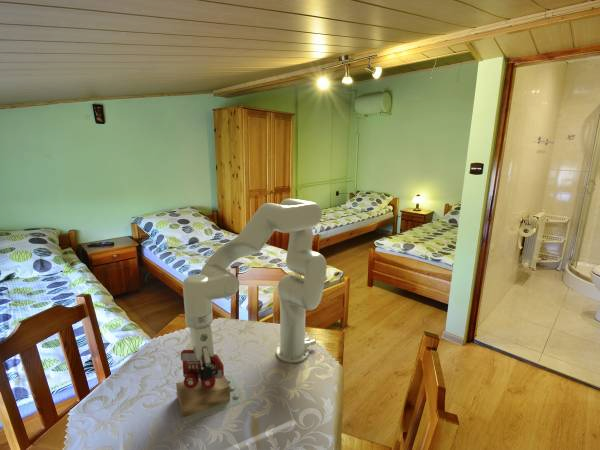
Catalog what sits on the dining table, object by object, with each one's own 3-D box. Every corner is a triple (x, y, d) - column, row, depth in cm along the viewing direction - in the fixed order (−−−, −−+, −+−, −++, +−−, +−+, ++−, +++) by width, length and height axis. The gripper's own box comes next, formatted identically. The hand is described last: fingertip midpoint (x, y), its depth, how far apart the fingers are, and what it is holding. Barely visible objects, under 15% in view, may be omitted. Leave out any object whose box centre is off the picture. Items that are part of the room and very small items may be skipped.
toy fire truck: (220, 389, 95) (219, 358, 93) (178, 389, 95) (176, 357, 93) (226, 373, 102) (224, 344, 99) (186, 373, 102) (184, 343, 99)
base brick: (221, 382, 107) (221, 369, 106) (230, 400, 99) (229, 386, 98) (177, 397, 100) (176, 383, 99) (182, 417, 92) (181, 402, 91)
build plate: (231, 377, 111) (231, 372, 111) (245, 404, 99) (245, 399, 99) (176, 395, 102) (175, 391, 102) (184, 427, 90) (184, 422, 90)
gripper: (220, 328, 88) (223, 383, 92) (204, 302, 103) (207, 350, 107) (191, 335, 84) (196, 392, 88) (180, 307, 99) (184, 357, 103)
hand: (202, 369), depth 97 cm, fingers closed on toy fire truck, 8 cm apart
